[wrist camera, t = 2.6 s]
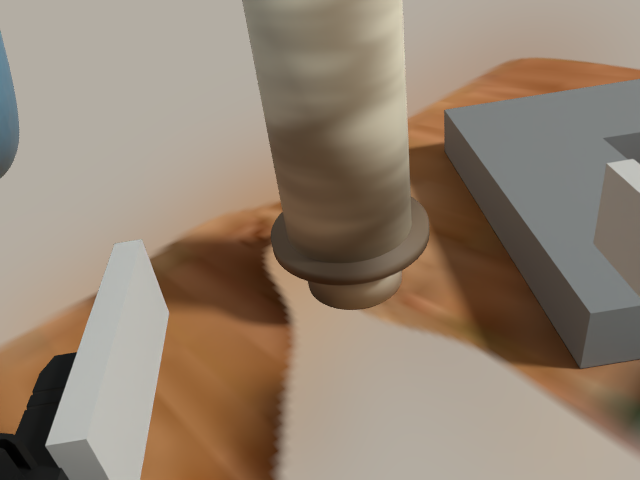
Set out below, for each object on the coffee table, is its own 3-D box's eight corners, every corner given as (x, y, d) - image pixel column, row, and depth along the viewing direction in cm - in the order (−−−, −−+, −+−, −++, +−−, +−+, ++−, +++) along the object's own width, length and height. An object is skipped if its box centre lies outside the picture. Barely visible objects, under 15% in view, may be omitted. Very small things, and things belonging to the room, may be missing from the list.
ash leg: (285, 341, 27) (202, -34, 18) (278, 247, 33) (214, -67, 24) (448, 315, 27) (449, -72, 18) (411, 226, 33) (397, -95, 24)
